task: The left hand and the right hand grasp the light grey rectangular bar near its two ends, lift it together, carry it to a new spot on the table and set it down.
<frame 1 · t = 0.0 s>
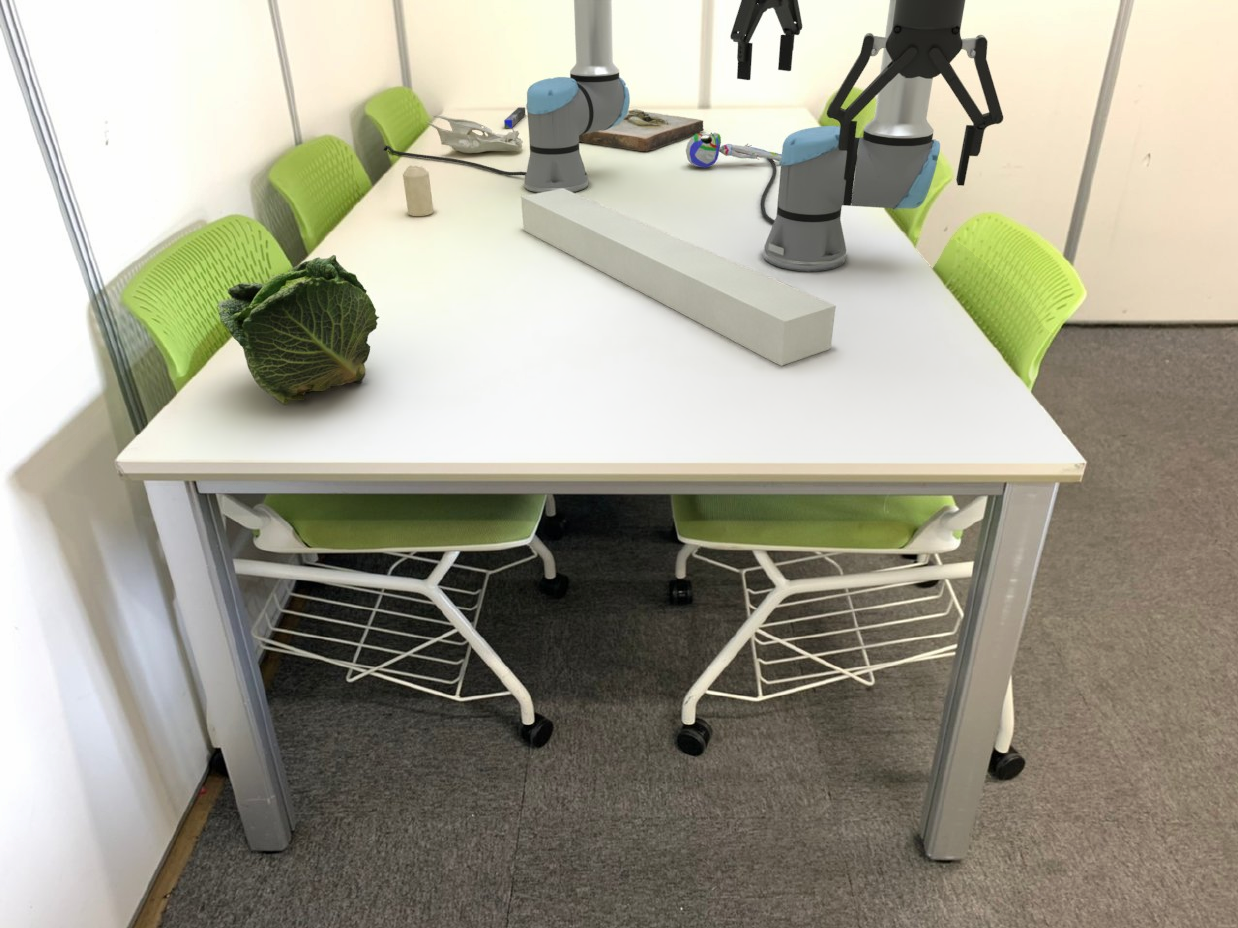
left hand: (764, 75, 179), 28 cm above the table, tool pointing down, fingers open, 13 cm apart
right hand: (902, 180, 112), 28 cm above the table, tool pointing down, fingers open, 13 cm apart
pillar: (515, 122, 278), on the table
anatomical model: (477, 151, 246), on the table
vegetable: (315, 386, 128), on the table
toy: (744, 165, 229), on the table
candle: (421, 213, 198), on the table
plaque: (633, 136, 259), on the table
light grey rectangular bar: (652, 280, 161), on the table
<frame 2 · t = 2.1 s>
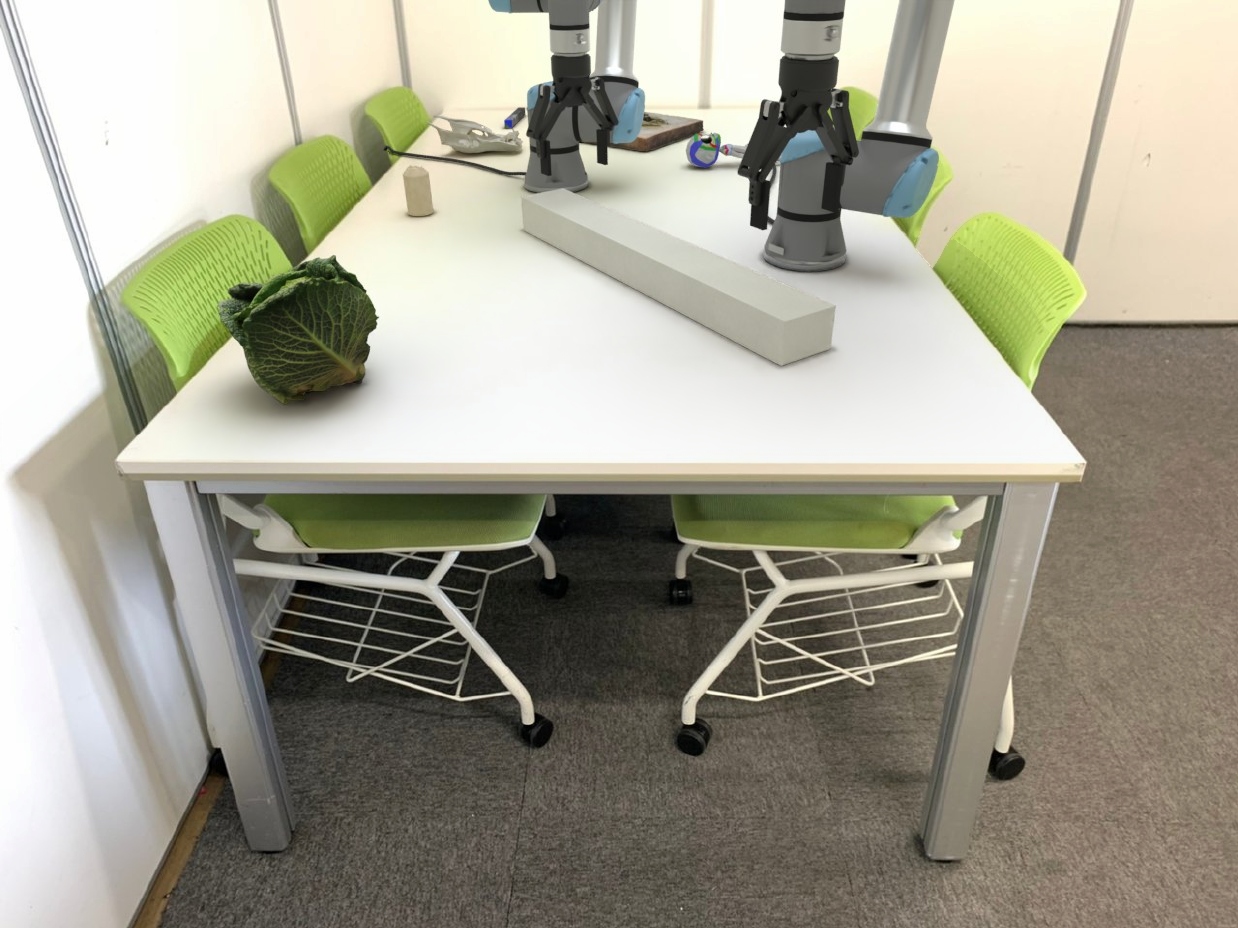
left hand: (574, 169, 180), 12 cm above the table, tool pointing down, fingers open, 13 cm apart
right hand: (794, 219, 127), 20 cm above the table, tool pointing down, fingers open, 13 cm apart
nothing on the table moved.
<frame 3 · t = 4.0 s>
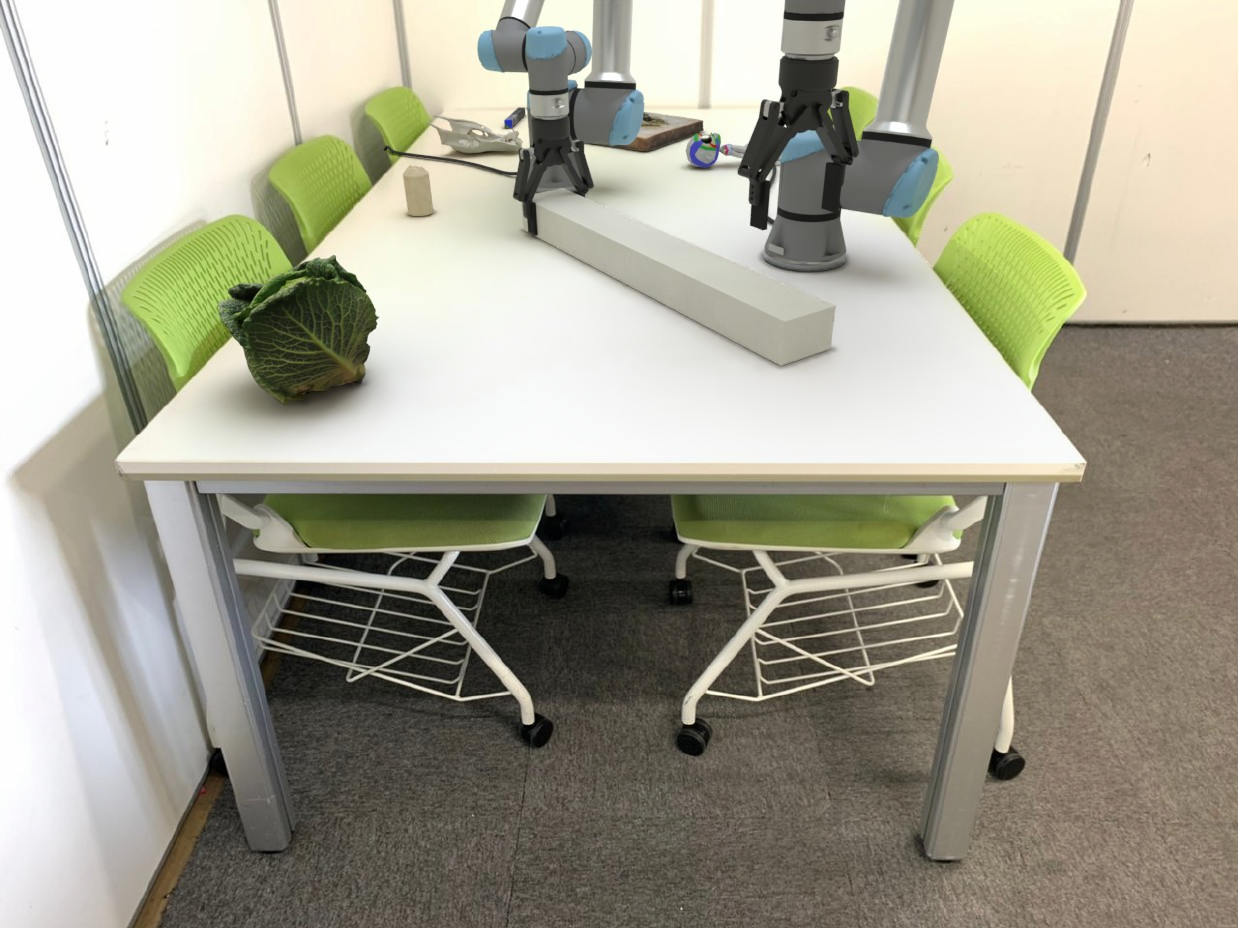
left hand: (555, 228, 185), 1 cm above the table, tool pointing down, fingers closed on light grey rectangular bar, 10 cm apart
right hand: (794, 219, 127), 20 cm above the table, tool pointing down, fingers open, 13 cm apart
light grey rectangular bar: (652, 280, 161), on the table, touching left hand
everything else where it was.
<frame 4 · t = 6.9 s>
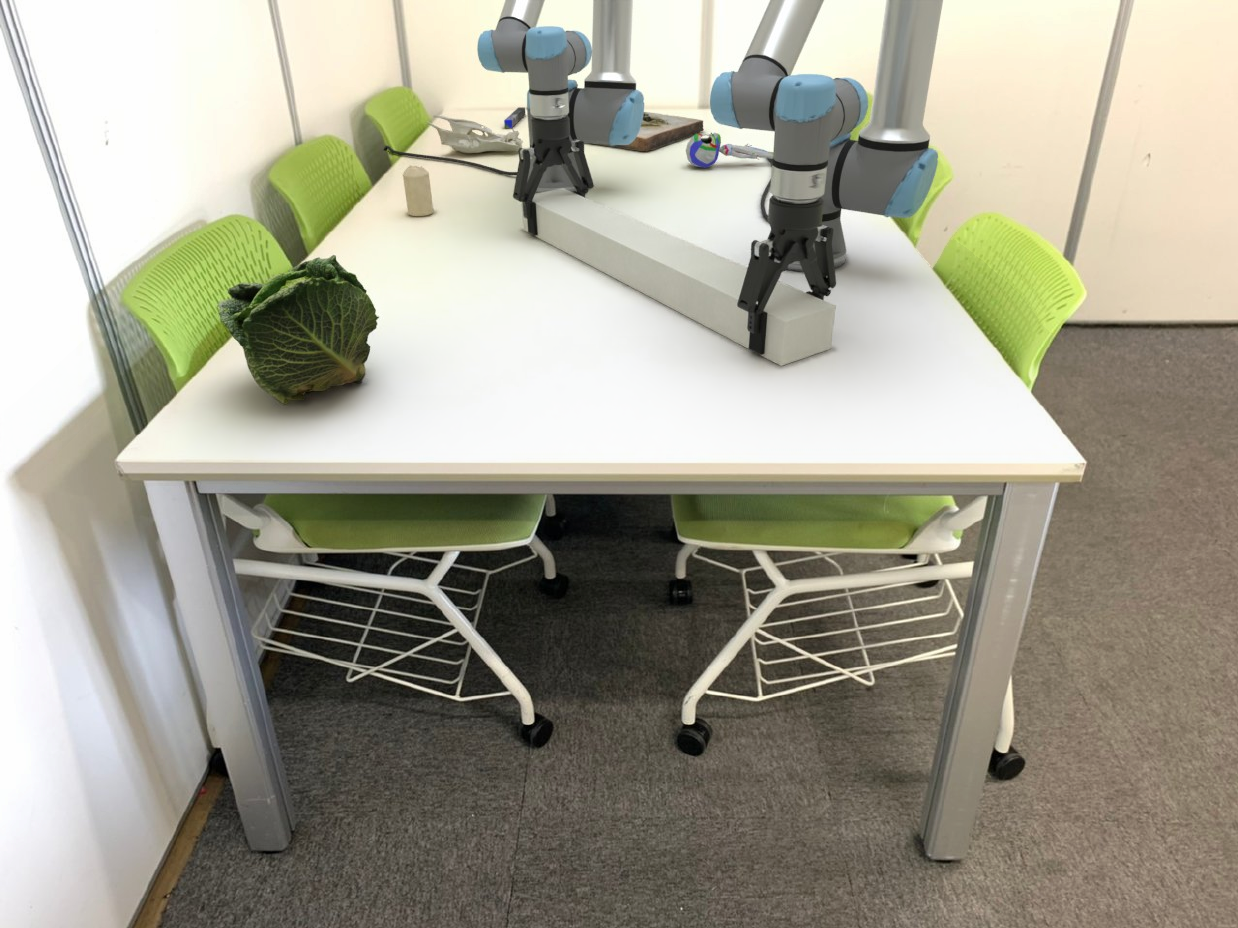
left hand: (555, 228, 185), 1 cm above the table, tool pointing down, fingers closed on light grey rectangular bar, 10 cm apart
right hand: (783, 342, 137), 1 cm above the table, tool pointing down, fingers closed on light grey rectangular bar, 10 cm apart
light grey rectangular bar: (652, 280, 161), on the table, touching left hand, right hand
everything else where it was.
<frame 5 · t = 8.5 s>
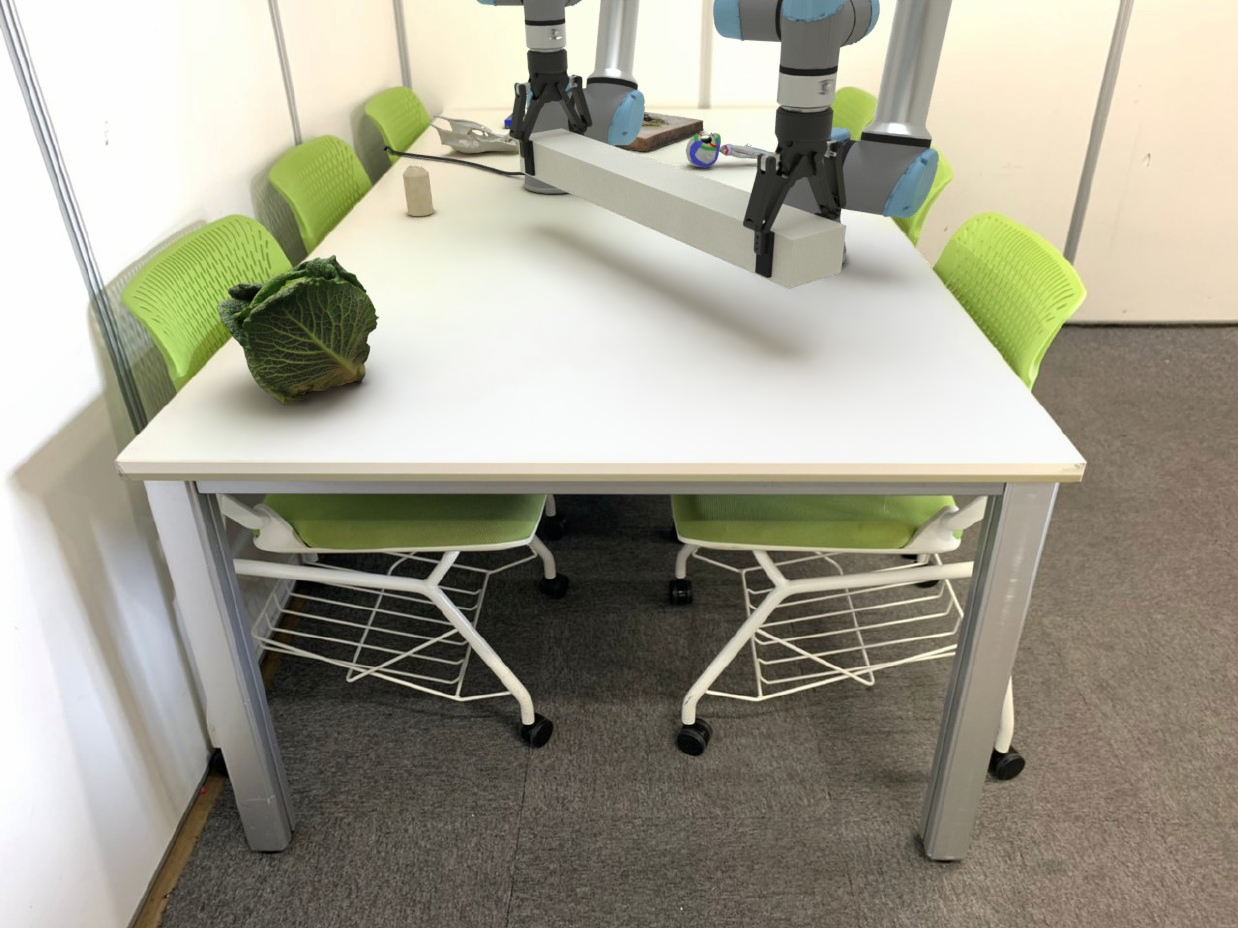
left hand: (554, 169, 179), 13 cm above the table, tool pointing down, fingers closed on light grey rectangular bar, 10 cm apart
right hand: (791, 266, 131), 12 cm above the table, tool pointing down, fingers closed on light grey rectangular bar, 10 cm apart
light grey rectangular bar: (654, 214, 155), point 12 cm above the table, touching left hand, right hand
everything else where it was.
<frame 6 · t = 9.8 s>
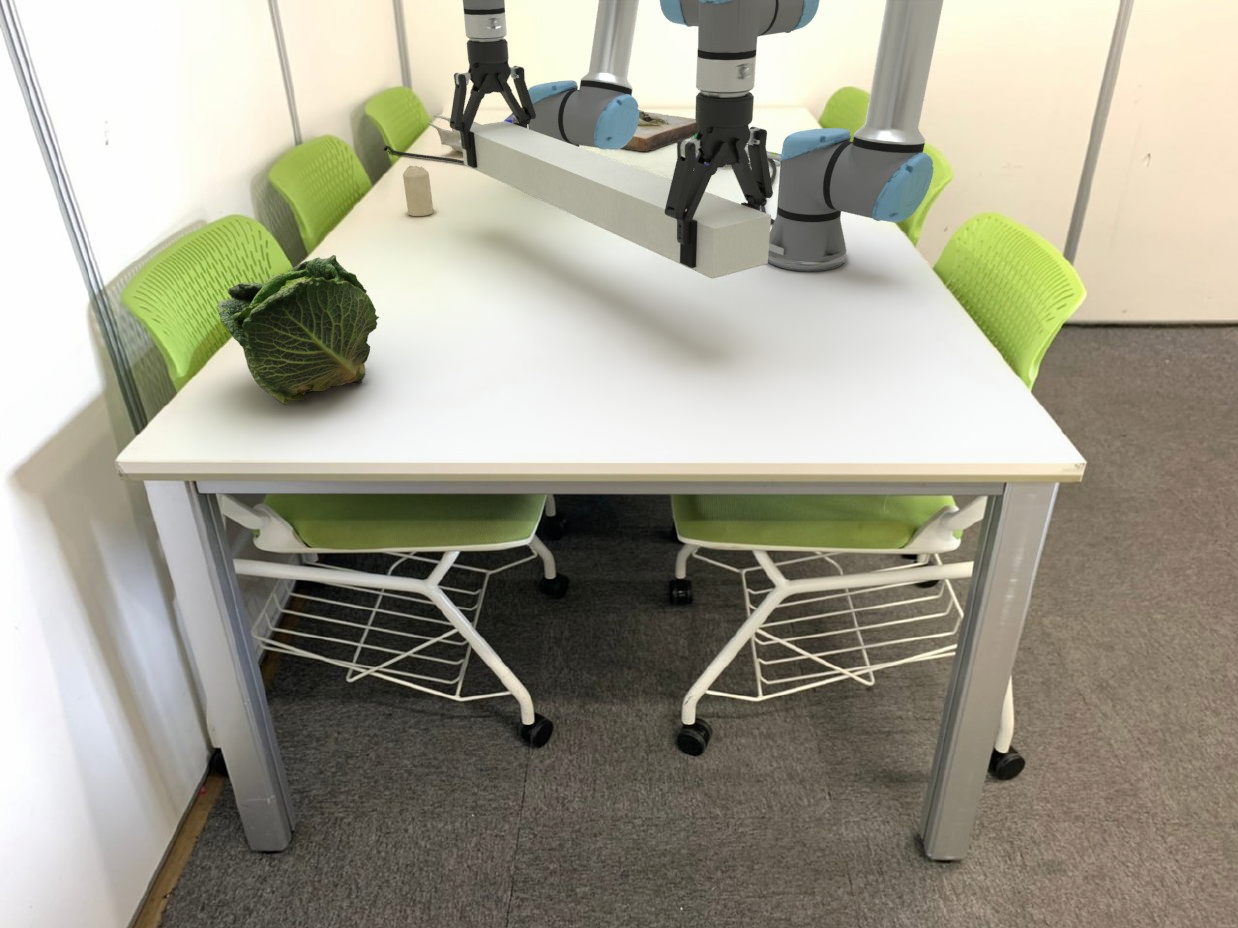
left hand: (497, 162, 177), 15 cm above the table, tool pointing down, fingers closed on light grey rectangular bar, 10 cm apart
right hand: (717, 257, 128), 15 cm above the table, tool pointing down, fingers closed on light grey rectangular bar, 10 cm apart
light grey rectangular bar: (590, 206, 153), point 14 cm above the table, touching left hand, right hand
everything else where it was.
when the left hand's fingers open (2 cm above the table, at t = 13.0 s): light grey rectangular bar stays where it is, on the table.
when the right hand's fingers open (1 cm above the table, at t = 13.0 s): light grey rectangular bar stays where it is, on the table.
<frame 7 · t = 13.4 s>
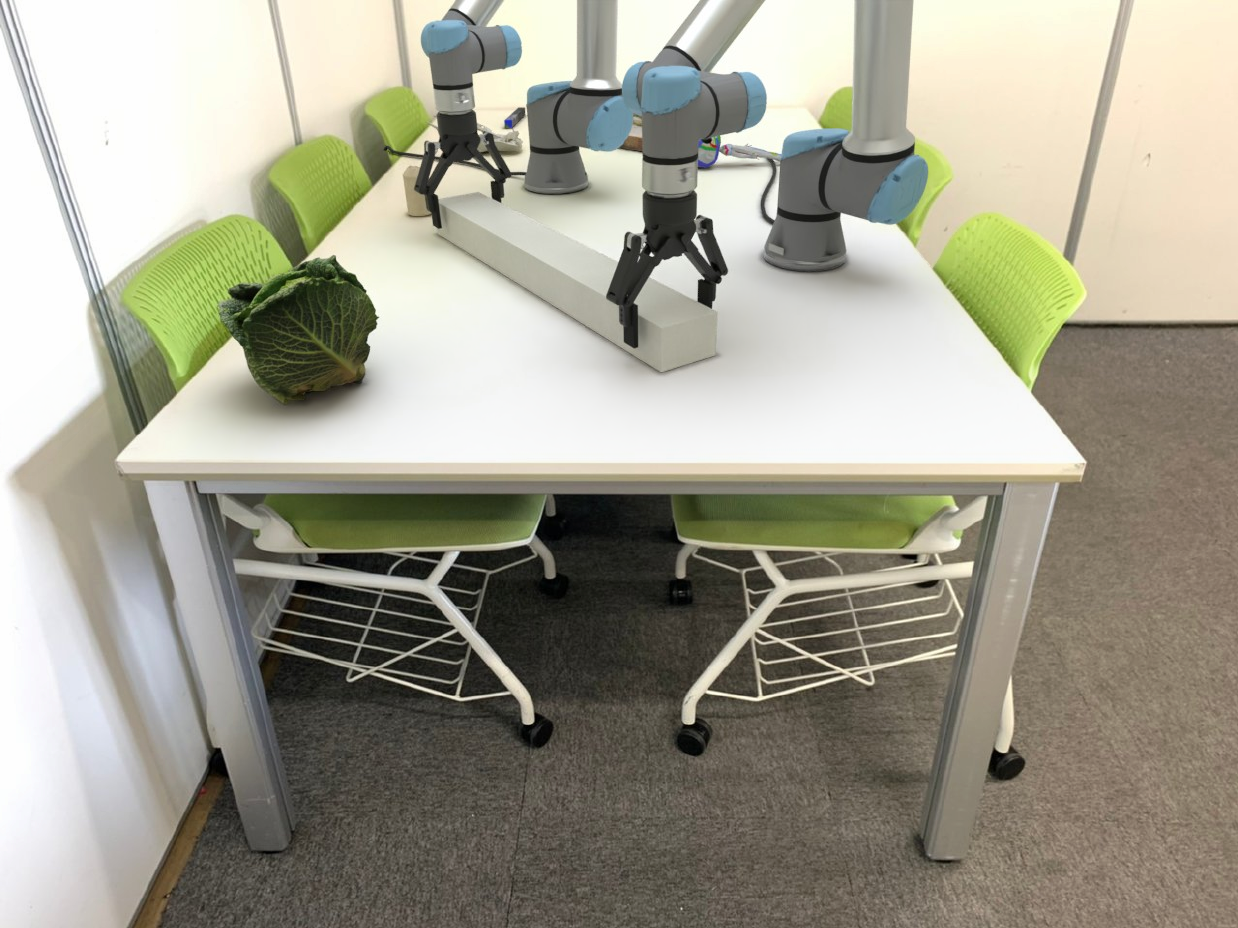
left hand: (468, 220, 183), 3 cm above the table, tool pointing down, fingers open, 13 cm apart
right hand: (668, 333, 134), 3 cm above the table, tool pointing down, fingers open, 13 cm apart
light grey rectangular bar: (554, 285, 160), on the table
everything else where it was.
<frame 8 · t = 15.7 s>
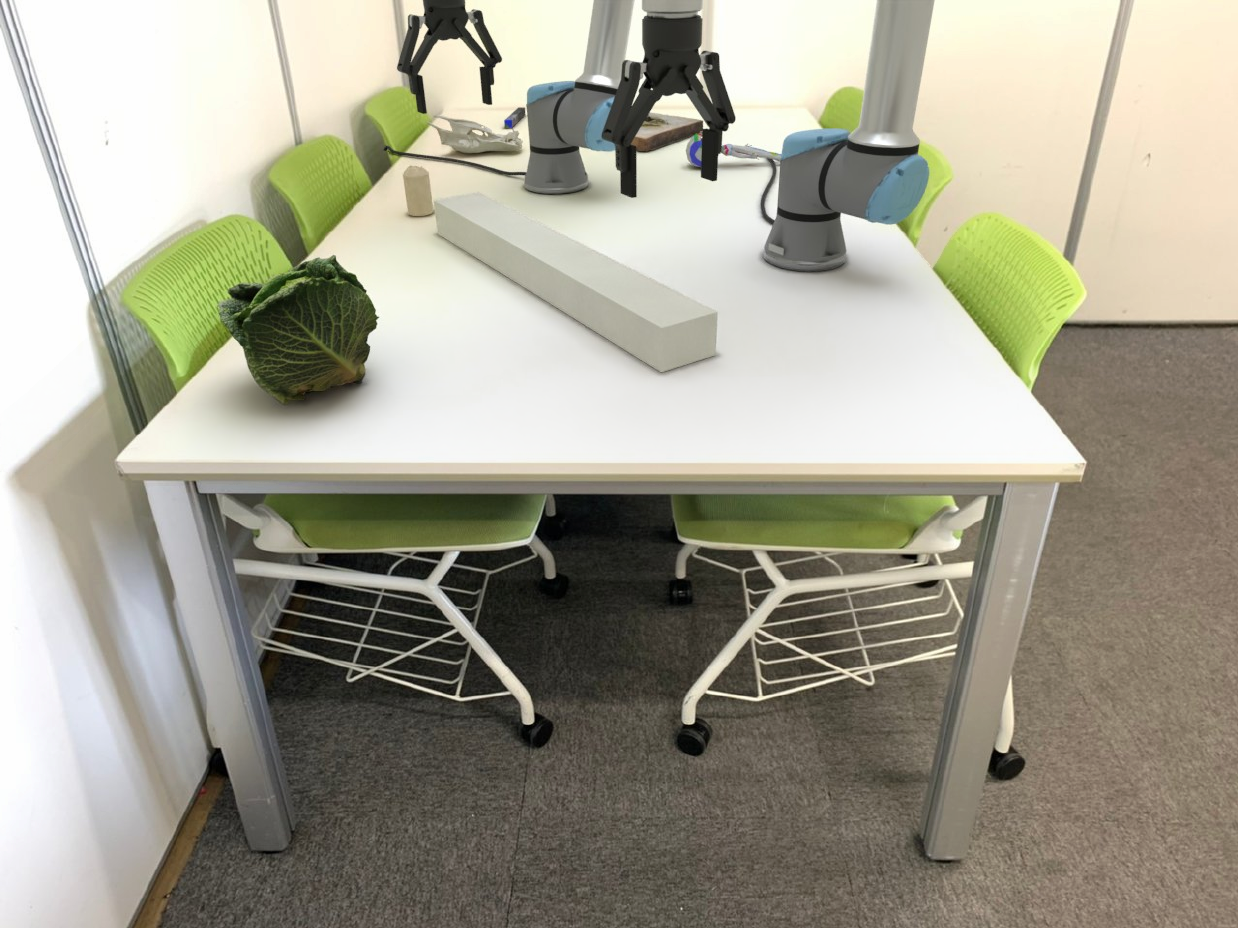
left hand: (455, 108, 171), 25 cm above the table, tool pointing down, fingers open, 13 cm apart
right hand: (669, 187, 122), 25 cm above the table, tool pointing down, fingers open, 13 cm apart
nothing on the table moved.
at the end: light grey rectangular bar inside the target area (0.3 cm from its centre), on the table; light grey rectangular bar tilted 0°; light grey rectangular bar never tilted more than 2° during the clip; both hands held the light grey rectangular bar at the same time; the left hand is holding nothing; the right hand is holding nothing; light grey rectangular bar at rest at the end (0.0 cm/s) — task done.
